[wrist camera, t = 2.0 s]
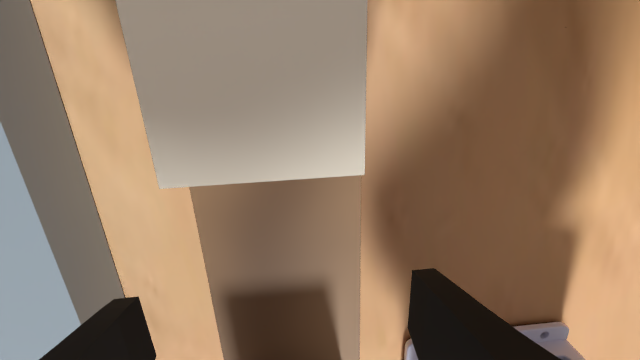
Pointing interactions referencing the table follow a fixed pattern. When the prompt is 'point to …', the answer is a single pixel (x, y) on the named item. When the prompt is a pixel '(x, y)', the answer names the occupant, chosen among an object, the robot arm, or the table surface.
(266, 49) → the block
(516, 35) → the table surface
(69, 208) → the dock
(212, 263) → the tan open box
